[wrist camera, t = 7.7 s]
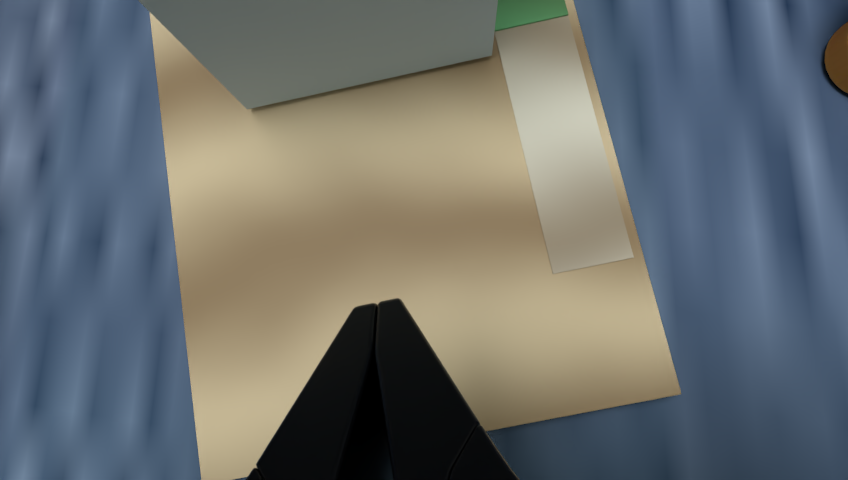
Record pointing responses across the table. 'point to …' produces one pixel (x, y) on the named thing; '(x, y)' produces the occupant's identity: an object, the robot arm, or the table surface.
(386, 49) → the grey block
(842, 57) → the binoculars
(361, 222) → the gauge track
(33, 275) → the table surface
